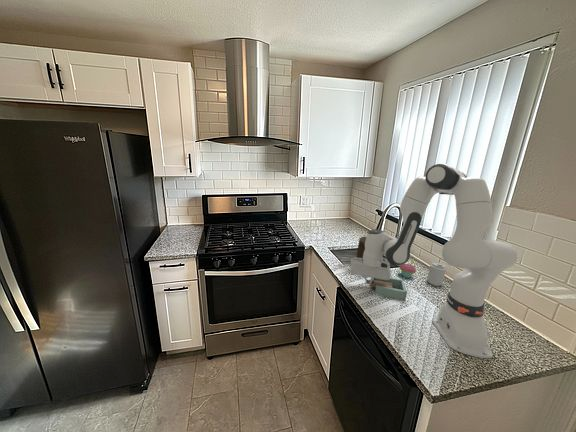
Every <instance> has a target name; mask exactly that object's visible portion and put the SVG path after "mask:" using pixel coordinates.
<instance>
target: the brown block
mask: <svg viewBox="0 0 576 432" xmlns="http://www.w3.org/2000/svg"><path fill="white" fill-rule="evenodd" d="M376 285H378V286H383V287H388V288H393V287H392V283H388V282H383V281H377V280H376V278H374V280H373V281H372V282H371V285H370V290H372V291H373V290H374V291H373V292H375V289H376Z"/></svg>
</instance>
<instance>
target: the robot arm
mask: <svg viewBox="0 0 576 432" xmlns="http://www.w3.org/2000/svg"><path fill="white" fill-rule="evenodd" d="M436 194H439V195H447V196H450V195H452V196H454V199H455V211H456V228H455V231H454V232H453V235H452V237H451V238H450V239H449V240H448V241H447V242H445V243H444V245H443V247H442V249H441V257H442V258H443V260H444V262H445V263H446V264H447V265H448V266H451V267H453V268H459V269H463V270H461V271H459V272H457V273H456V274H455V275H454V276H453V278H452V282H451V283H452V284H451V285H450V291H448V293H447V295H446V301H445V303H443V304H441V305H440V308H439V310H438V313H437V316H436V317H434V318H432V320H431V321H432V323H433V325H434V327H435V328H436V329H437V331H438V332H439V333H440V335H441V337H442V339H443V340H444V342H445V343H446V344H447V345H448V347H449V348H450V349H452V350H454V351H456V352H459V353H461V354H464V355H467V356H471V357H475V358H480V359H492V358H493V356H494V353H493V352H492V349H491V345H490V342H489V337H491V335H492V331H491V330H489V329H487V327H486V326H487V321H486V320H485V318H484V314H485V313H484V312H485V303H484V302H485V299H486V296H487V294H488V291H489V288H490V287H491V285H492V284H493V282H494V281H495V280H496V279H497V278H498V276H500V275H501V274H502V273H504V272H505V271H506V270H507V269H509V268H511V267H513V266H515V264H516V263H517V259H518V254H517V253H518V252H517V250H516V249H515V247H514V246H512V244H510V243H507V242H503V241H500V240H491V239H489V240H487V239H483V235H484V232H485V231H486V229H488V228H490V227H491V226H492V225H493V223H494V217H493V216H494V215H493V207H492V200H491V195H490V191H489V188H488V185H487V182H486V180H485V179H483V178H482V177H478V176H469V177H467V175H466V174H465V173H464V172H462V171H460V170H459V168H456V167H454V166H452V165H449V164H447V163H437V164H434V165H431V166H430V167H429V168H428V169H427V171H426V172H425V175H424V176H418V177H416V178H415V179H413V181H412V182H411V184H410V185H409V186H408V189H407V190H406V192H405V194H404V195H403V197H402V200H401V202H400V207H399V210H400V213H401V216H402V228H401V230H400V232H399V235H398V237H395V236H391V235H389V234H388V233H386V232H385V231H384V230H382V229H371V230H369V231H368V232H367V234H366V236H367V237H366V236H365V237H366V241H365V251H364V254H363V258H357V256H354V257H351V258H350V269H349V273H350V274H352V275H357V276H361V277H363V278H364V280H365V284H366V285H370V286H371V282H372V281H373V280H374V278H377V279H382V280H387V281H388V280H390V278H392V277H391V274H392V273H391V267H390V266H391V265H392V266H399V267H400V265H403V264H407V262H409V260H410V256H411V248H412V245H413V244H414V240H415V239H416V235H417V234H418V231H419V229H420V226H421V224H422V221H423V220H422V219H423V216H424V215H425V212H426V210H427V209H428V206H429V204H430V203H431V200H432V198H434V196H435V195H436ZM383 256H385V257H383ZM368 278H370V279H368Z"/></svg>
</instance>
